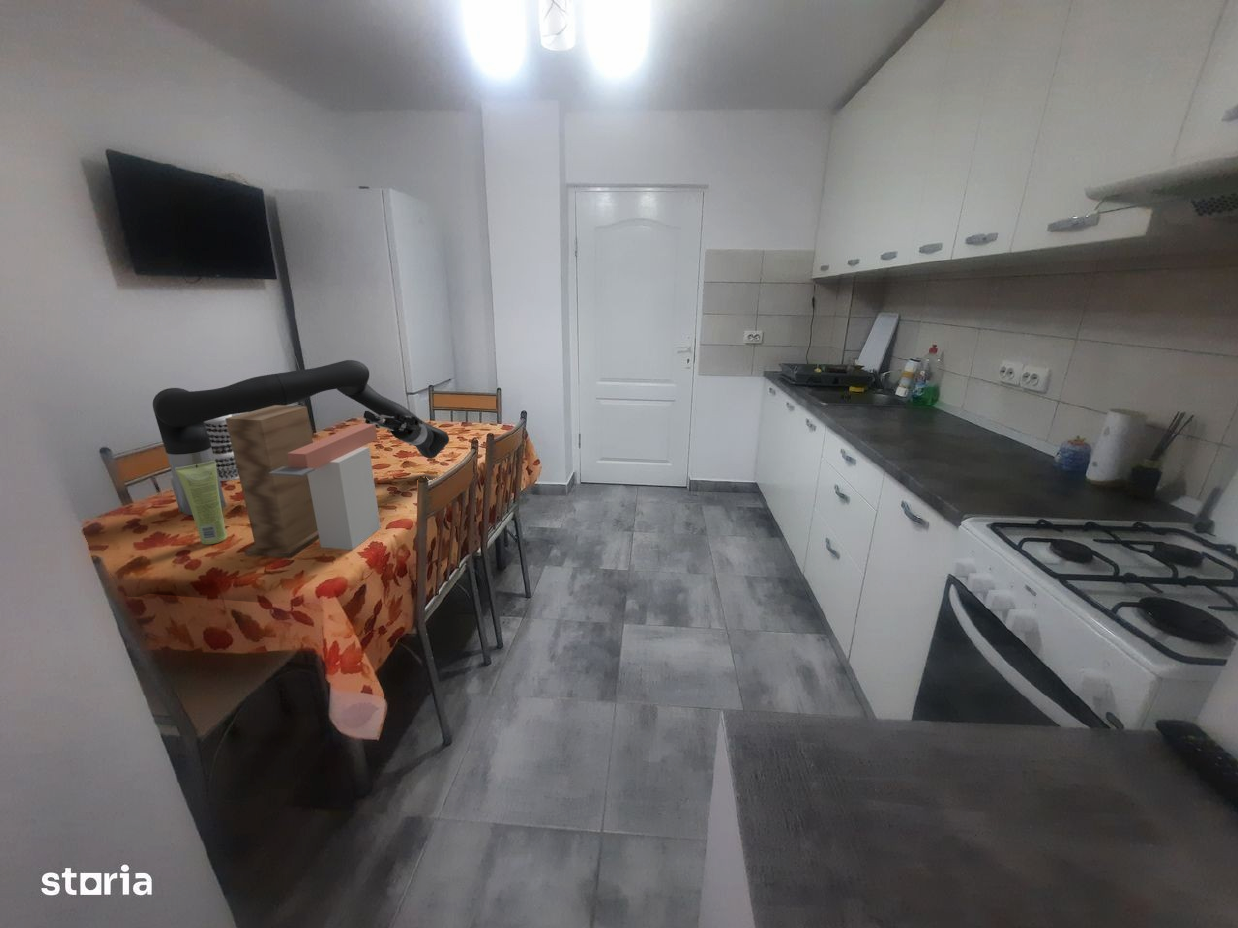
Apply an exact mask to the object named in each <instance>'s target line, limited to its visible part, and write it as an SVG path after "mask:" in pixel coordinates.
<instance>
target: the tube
mask: <svg viewBox="0 0 1238 928" xmlns="http://www.w3.org/2000/svg"><path fill="white" fill-rule="evenodd" d="M175 472H176V473H177V475H178V477H179V479H180V482H181V484H182V487H183V489H184V492H185V494H186V497H187V499H188V502H189V505H190V508H191V511H192V514H193V515H192V517H193V519H194V523H195V525H196V530H197V532H198V533H197V534H198V536H199V540H200V542H201V544H202V545H213V544H218V543H221V542H223V541H225V540H226V539H227V538H228V536H227V535H228V534H227V529H226V526H225V520H224V514H223V508H221V502H220V496H219V489H218V481H217V471H216V461H212V462H207V463H201V464H196V465H190V466H184V467H179V468H175Z"/></svg>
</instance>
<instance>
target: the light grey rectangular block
mask: <svg viewBox="0 0 1238 928" xmlns="http://www.w3.org/2000/svg"><path fill="white" fill-rule="evenodd" d="M307 475H308V480H309V486H310V491H311V496H312V502H313V507H314V512H315V518H316V523H317V528H318V534H319V539H318V540H319V543H320V548H321V549H333V550H334V549H335V550H347V551H354V550H355V549H356V548H357V547H358V546H360V545H361V544H362V543H364V542H365V541H366V540H367V539H369V538H370V537H371V536H372V535H374V534H375V533H376V532H377V531H378V530H380V529H381V522H380V513H379V506H378V505H379V504H378V500H377V494H376V486H375V478H374V472H373V465H372V456H371V450H370V446H362V447H360V448H358V449H356V450H354V451H352V452H350V453H348V454H346V455H344V456H341V457H339V458H337V459H335V460H333V461H331V462H329V463H327V464H325V465H323V466H321V467H319V468H317V469H315V470H314V471H312V472H310V473H308V474H307ZM373 533H374V534H373Z"/></svg>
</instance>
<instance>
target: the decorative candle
mask: <svg viewBox="0 0 1238 928" xmlns="http://www.w3.org/2000/svg"><path fill="white" fill-rule="evenodd" d="M229 417H233V414H231V415H226V416H222V417H219V418H215V419H212V420H208V421H205V422H204V423H205V427H206V430H207V433H208V436H209V439H210V443H211V447H212V451H213V455H214V459H215V461H216V467H217V471H218V475H219V479H220V482H228V481H233V480H234V481H235V480H238V479H239V480H240V478H239V474H238V470H237V466H236V461H235V457H234V453H233V449H232V444H231V440H230V436H229V432H228V427H227V423H226V419H225V418H229Z"/></svg>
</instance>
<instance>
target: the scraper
mask: <svg viewBox="0 0 1238 928" xmlns="http://www.w3.org/2000/svg"><path fill="white" fill-rule="evenodd" d="M376 440H378V434H377V428H376V425H375V424H366V423H359V424H356V425H353V426H351V427H348V428H346V429H343V430H342V431H339V432H336V433H333V434H331V435H329V436H326V437H324V438H321V439H319V440H317V441H313V443H311V444H309V445H306V446H304V447H301V448H299V449H296V450H294V451H291V452H289V453H287V454H288V460H289V465H290V467H286V466H283V467H281V468H278V469H276V470H274V471H271V472H269V475H285V476H301V477H302V476H304V475H306V474H308V473H310V472H312V471H314V470H315V469H317V468H319V467H321V466H323V465H325V464H327V463H329V462H331V461H333V460H335V459H337V458H339V457H341V456H344V455H346V454H348V453H350V452H352V451H354V450H356V449H358V448H360V447H365V446H367V445H369V444H370V443H373V442H374V441H376Z"/></svg>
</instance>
